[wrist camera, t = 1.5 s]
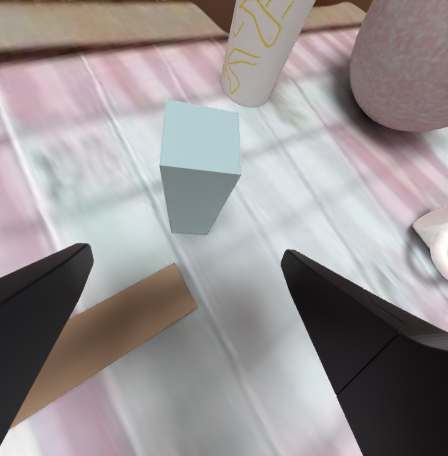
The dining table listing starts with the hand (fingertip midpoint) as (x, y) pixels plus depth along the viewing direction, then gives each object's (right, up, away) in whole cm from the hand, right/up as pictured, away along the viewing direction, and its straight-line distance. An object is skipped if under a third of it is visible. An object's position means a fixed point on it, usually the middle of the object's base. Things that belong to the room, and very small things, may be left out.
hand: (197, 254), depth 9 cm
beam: (-10, -9, +8) cm, 16 cm away
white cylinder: (+5, +24, +21) cm, 32 cm away
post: (-3, +3, +13) cm, 14 cm away
